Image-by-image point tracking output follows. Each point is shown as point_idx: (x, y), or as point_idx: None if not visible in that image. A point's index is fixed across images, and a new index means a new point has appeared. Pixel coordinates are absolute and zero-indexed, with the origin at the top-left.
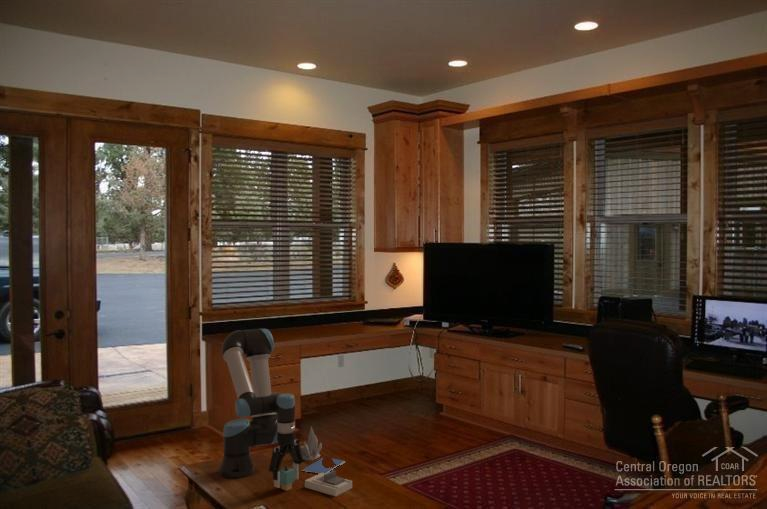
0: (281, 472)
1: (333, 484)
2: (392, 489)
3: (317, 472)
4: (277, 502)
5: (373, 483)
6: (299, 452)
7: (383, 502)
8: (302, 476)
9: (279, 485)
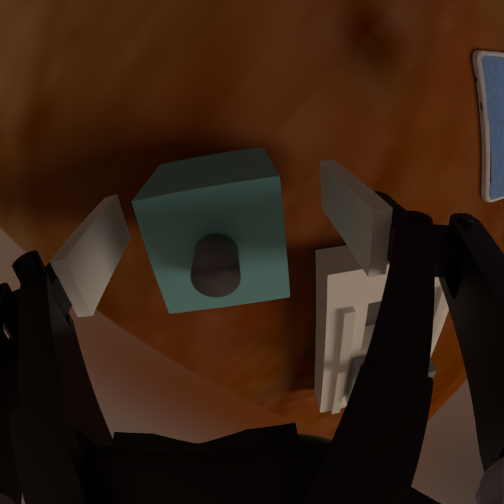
0: (149, 248)
1: (346, 396)
2: None
3: (492, 157)
4: None
5: (456, 365)
6: (469, 357)
7: None
8: (430, 107)
9: (123, 246)
